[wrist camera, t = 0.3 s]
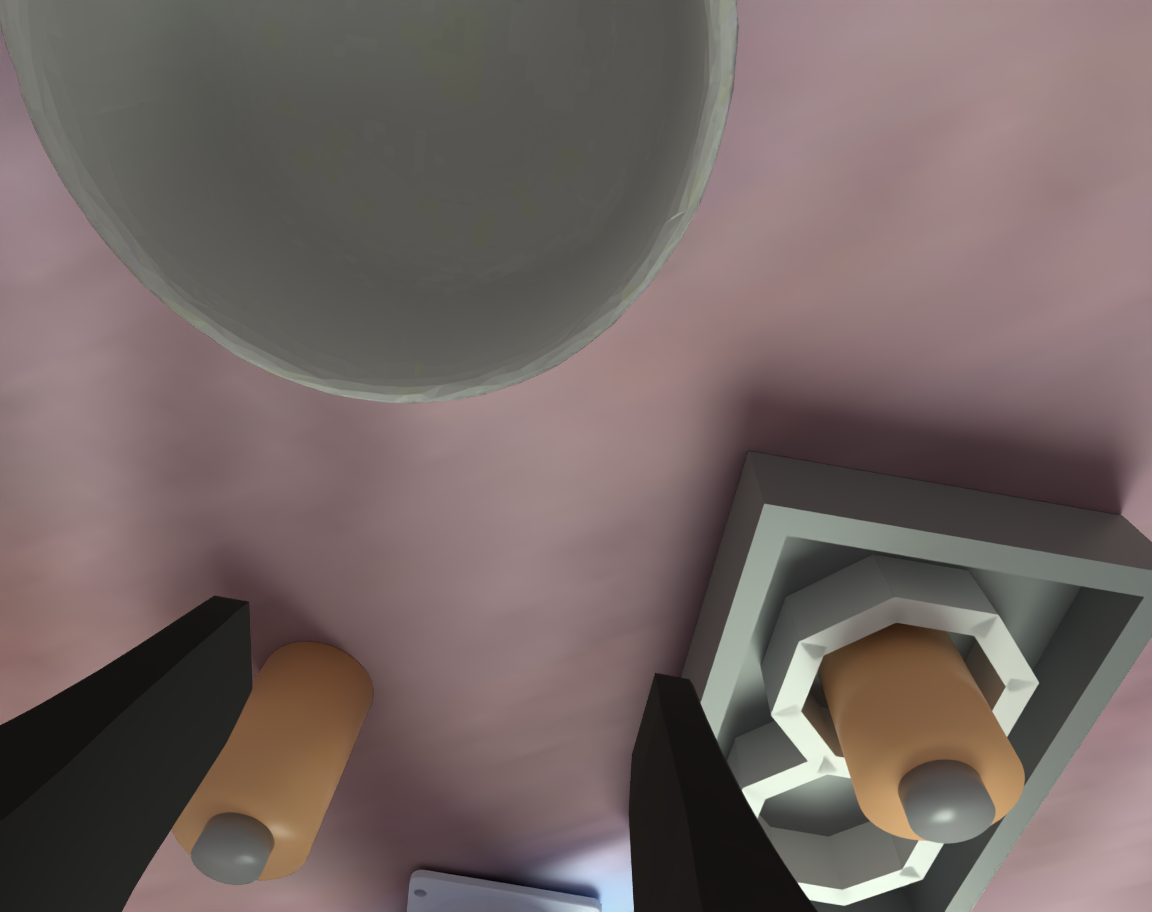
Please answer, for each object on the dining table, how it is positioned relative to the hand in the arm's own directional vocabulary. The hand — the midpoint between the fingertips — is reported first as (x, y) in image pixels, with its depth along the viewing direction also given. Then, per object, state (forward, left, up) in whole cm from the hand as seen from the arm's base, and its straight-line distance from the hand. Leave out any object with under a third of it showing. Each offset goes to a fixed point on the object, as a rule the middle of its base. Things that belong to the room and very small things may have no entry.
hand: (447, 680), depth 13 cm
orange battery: (-11, +6, -10) cm, 16 cm away
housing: (-8, -12, -10) cm, 17 cm away
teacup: (+10, +4, -10) cm, 15 cm away
